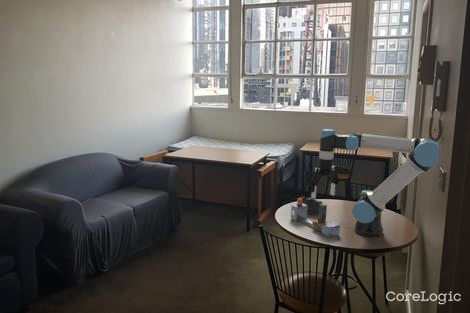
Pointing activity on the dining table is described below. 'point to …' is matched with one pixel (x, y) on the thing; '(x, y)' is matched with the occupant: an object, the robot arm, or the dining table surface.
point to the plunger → (299, 202)
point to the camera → (311, 205)
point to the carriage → (320, 218)
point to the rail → (301, 215)
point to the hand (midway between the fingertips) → (323, 196)
